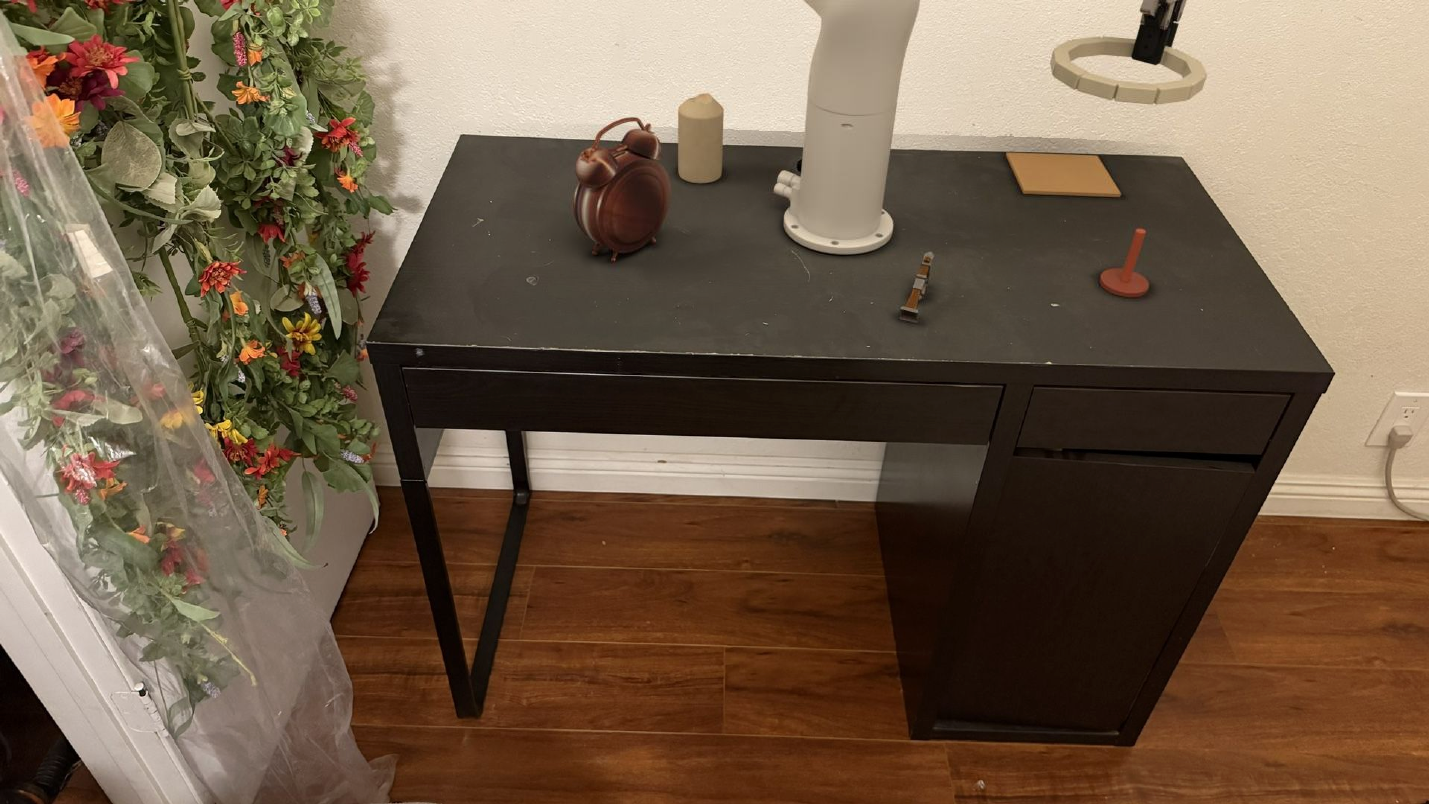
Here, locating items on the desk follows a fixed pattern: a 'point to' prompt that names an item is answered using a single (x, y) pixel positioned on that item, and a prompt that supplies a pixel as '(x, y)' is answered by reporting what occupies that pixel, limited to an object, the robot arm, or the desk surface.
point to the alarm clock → (622, 190)
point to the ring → (1121, 90)
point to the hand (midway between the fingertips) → (1149, 57)
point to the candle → (700, 139)
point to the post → (1127, 273)
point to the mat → (1062, 175)
